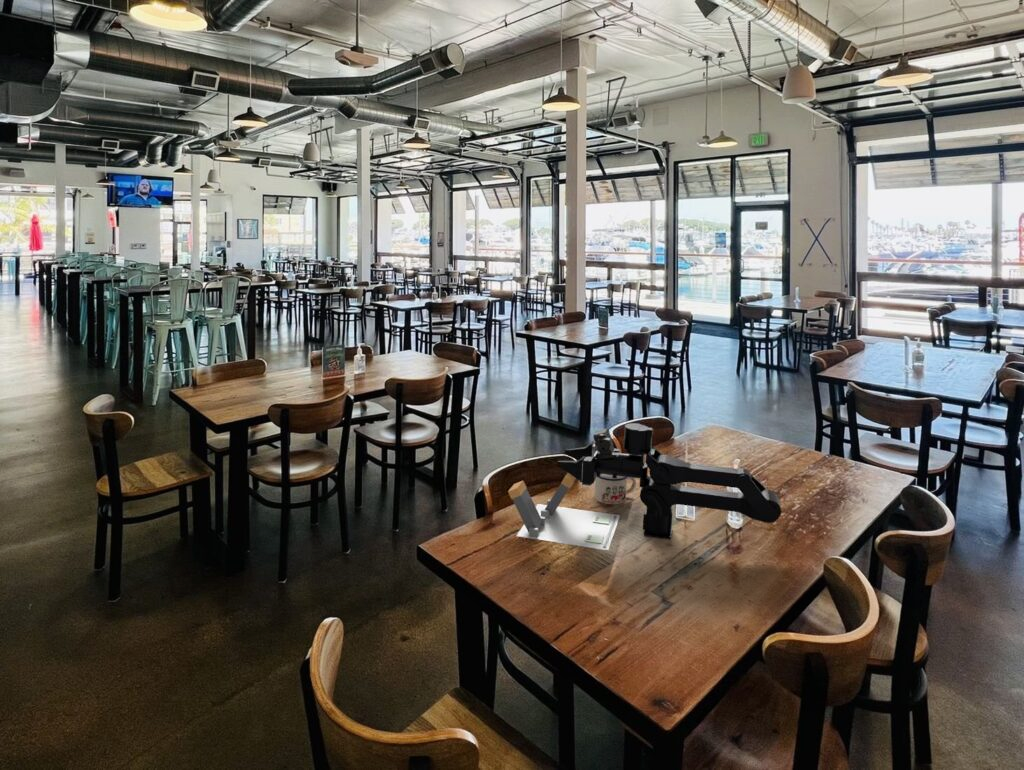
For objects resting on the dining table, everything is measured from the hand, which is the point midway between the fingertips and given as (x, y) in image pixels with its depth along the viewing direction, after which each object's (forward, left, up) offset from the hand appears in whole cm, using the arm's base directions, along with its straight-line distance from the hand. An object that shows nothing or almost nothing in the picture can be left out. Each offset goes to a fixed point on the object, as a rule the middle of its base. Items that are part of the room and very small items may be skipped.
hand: (560, 457), depth 164 cm
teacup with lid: (-12, -15, -17) cm, 26 cm away
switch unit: (-4, +6, -16) cm, 18 cm away
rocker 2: (+3, +1, -15) cm, 15 cm away
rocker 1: (+3, +12, -15) cm, 19 cm away
